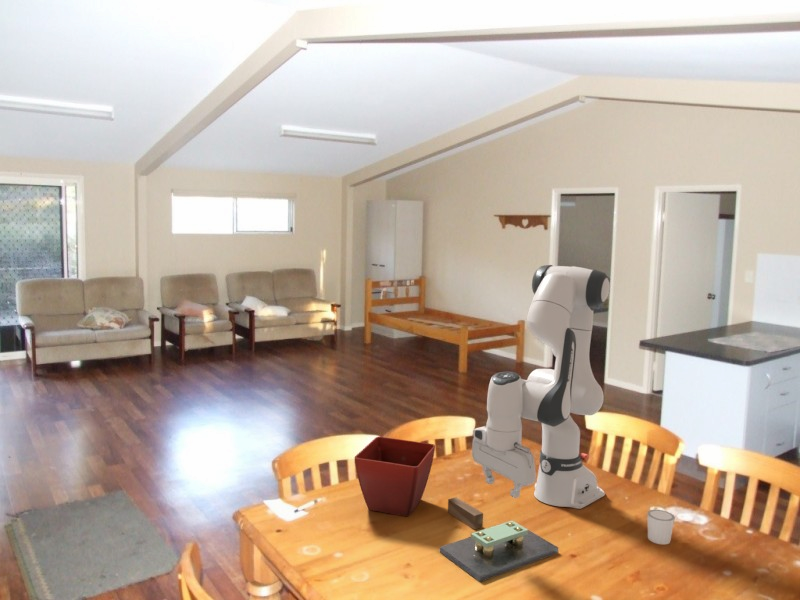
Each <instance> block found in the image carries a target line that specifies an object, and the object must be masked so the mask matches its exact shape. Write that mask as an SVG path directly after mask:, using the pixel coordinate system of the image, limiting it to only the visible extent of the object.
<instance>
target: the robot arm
mask: <svg viewBox="0 0 800 600" xmlns="http://www.w3.org/2000/svg"><path fill="white" fill-rule="evenodd" d="M531 282H532V283H531V290H532V293H533V294H534V295H533V298H532V300H531V303H530V306H529V308H528V312H527V317H526V324H527V327H528V328H527V329H529V331H530V333H531V334H532V336H534V337H535V338H536V339H537V340H538V341H540V342H541V343H542V344H545V345H547V347H549V348H550V350H551V353H552V354H553V356H554V357H555V362H554V369H551V368H536V369H534V370H533V371H531V372H530V374H529V375H528V377H527V379H524V378H522V377H521V376H520V375H519V374H518V373H517V372H514V371H501V372H496V373H494V374H493V375H492V376H491V378H490V381H489V384H488V387H487V388H488V390H487V398H486V411H487V420H486V425H484V426H480V427H476V428H473V429H472V436H473V438H472V445H471V446H472V447H471V453H472V454H471V456H472V458H473V461H474V462H475V463H477V464H479V465H481V466H482V471H483V474H484V477H485V484H486V483H487V484H488V485H493V484H494V483H495V476H494V475H493V472H495V473H497V474H498V475H500V476H503V477H504V478H506V479H509V480H510V481H512V482H513V486H514V487H513V488H511V489H510V496H511V497H512V498H514V499H518V498H520V492H521V490H522V488H523V487H528V486H532V485H533V484H534V489H535V490H534V491H533V495H534V497H535V498H536V500H538V501H539V502H541V503H544V504H547V505H550V506H555V507H562V508H563V507H566V508H574V509H577V510H578V509H581V510H582V509H583V508H585V507H587V506H589V505H590V504H592V503H594V502H596V501H598V500H599V499H601V498H603V497H605V491H604V490H603V489H602V488H601V487H600V486H599V485H598V480H597V479H598V478H597V476H596V475H595V473H594V472H593V471H592V470H590V469H589V468H588V467H587V466H585V465H584V464H583V461H585V462H587V461H588V460H589V458H590V456H589V454H588V453H584V452H582V453H580V443H581V442H580V438H581V430H580V427H579V426H578V424H577V423H576V422H575V421H574V419H573V417H572V415H571V414H574V415H580V416H593V415H595V414H597V413H598V412H599V411H600V409H601V408H602V406H603V403H604V399H605V397H604V391H603V388H602V387H601V385H600V384H599V382H598V381H597V380H596V378H595V376H594V373H593V370H592V367H591V362H590V350H591V349H590V348H591V340H592V332H593V326H594V311H595V310H596V309H597V308H599V307H602V305H604V304H605V303H606V301H607V299H608V297H609V295H610V289H611V288H610V287H611V285H610V278H609V276H608V275H607V273H606V272H604V271H601V270H598V269H590V268H585V267H582V266H581V267H580V266H575V265H572V266H566V265H554V266H553V264H547V265H540V267H538V268H537V269H536V270H535V272H534V273H533V277H532V281H531ZM522 418H523V419H526V420H530V421H535V422H539V423H541V427H542V429H541V439H542V440H541V441H542V442H541V450H540V451H539V452H540V453H539V466H538V471H537V474H536V463H535V462H536V461H535V456H534V454H533V453H532V451H531V449H530V448H529V447H527V446H524V445H523V444H522V441H523V440H522V438H523V437H522V435H523V425H522V424H523V423H522V420H521V419H522ZM582 460H583V461H582ZM492 471H493V472H492ZM536 475H537V477H536Z"/></svg>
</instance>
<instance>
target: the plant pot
mask: <svg viewBox="0 0 800 600" xmlns="http://www.w3.org/2000/svg"><path fill="white" fill-rule="evenodd" d="M435 449H436V445H435V443H434V444H433V443H427V442H420V441H414V440H406V439H400V438H393V437H392V438H391V437H387V436H385V437H384V436H376V437H374V439H372V441H370V442H369V443H368V444H367V445H366V446H365V447H364V448H362V450H360V452H359V453H357V454H356V455H355V456H354V463H355V464H354V465H355V469H356V475H357V479H358V482H359V486H360V490H361V492H362V496H363V499H364V501H365V504H366V506H367V509H368V510H369V511H375V512H379V513H385V514H386V513H387V514H391V515H395V516H396V515H397V516H403V517H409V516H410V515H411V514H412V513H413V511H414V510H415V509H416V508H417V506H418V504H419V503H420V502H421V500H422V498H423V495H424V493H425V489H426V487H427V484H428V480H429V477H430V473H431V470H432V467H433V466H432V465H433V460H434V456H435V451H436V450H435Z"/></svg>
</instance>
